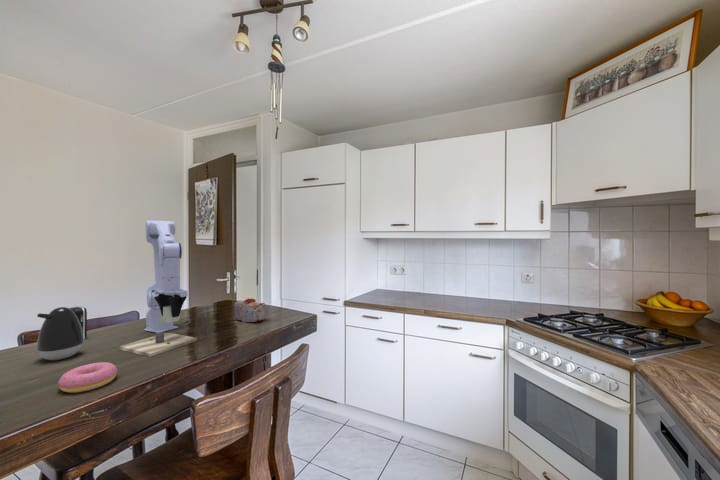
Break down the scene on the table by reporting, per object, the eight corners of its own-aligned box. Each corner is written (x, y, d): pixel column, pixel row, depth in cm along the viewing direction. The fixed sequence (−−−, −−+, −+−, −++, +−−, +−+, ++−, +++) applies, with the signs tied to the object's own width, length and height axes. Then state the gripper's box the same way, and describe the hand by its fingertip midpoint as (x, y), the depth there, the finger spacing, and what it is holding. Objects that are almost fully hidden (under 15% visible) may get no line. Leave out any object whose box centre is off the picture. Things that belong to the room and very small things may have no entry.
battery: (65, 339, 109) (65, 307, 109) (78, 336, 112) (78, 305, 112) (73, 342, 106) (73, 309, 106) (87, 339, 109) (87, 307, 109)
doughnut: (48, 390, 72) (48, 372, 72) (102, 371, 82) (102, 356, 82) (72, 399, 68) (72, 381, 68) (127, 379, 78) (127, 362, 78)
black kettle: (27, 361, 89) (27, 309, 89) (71, 349, 99) (71, 302, 99) (48, 366, 86) (47, 312, 86) (91, 353, 95) (91, 305, 95)
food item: (267, 320, 135) (267, 298, 135) (254, 324, 127) (254, 301, 127) (244, 317, 140) (244, 295, 140) (230, 321, 133) (230, 299, 133)
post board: (119, 349, 99) (119, 337, 99) (167, 335, 113) (167, 324, 113) (150, 356, 92) (150, 343, 92) (197, 340, 107) (197, 329, 107)
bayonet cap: (157, 322, 104) (157, 307, 104) (175, 318, 110) (175, 304, 110) (166, 323, 102) (166, 308, 102) (184, 319, 108) (184, 305, 108)
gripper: (145, 277, 105) (145, 316, 105) (173, 279, 100) (173, 320, 100) (165, 275, 112) (165, 312, 112) (192, 277, 106) (192, 315, 106)
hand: (170, 316), depth 106 cm, fingers closed on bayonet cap, 5 cm apart
